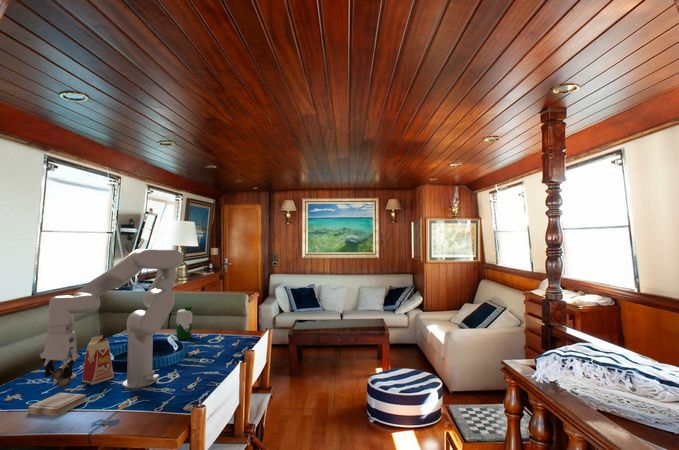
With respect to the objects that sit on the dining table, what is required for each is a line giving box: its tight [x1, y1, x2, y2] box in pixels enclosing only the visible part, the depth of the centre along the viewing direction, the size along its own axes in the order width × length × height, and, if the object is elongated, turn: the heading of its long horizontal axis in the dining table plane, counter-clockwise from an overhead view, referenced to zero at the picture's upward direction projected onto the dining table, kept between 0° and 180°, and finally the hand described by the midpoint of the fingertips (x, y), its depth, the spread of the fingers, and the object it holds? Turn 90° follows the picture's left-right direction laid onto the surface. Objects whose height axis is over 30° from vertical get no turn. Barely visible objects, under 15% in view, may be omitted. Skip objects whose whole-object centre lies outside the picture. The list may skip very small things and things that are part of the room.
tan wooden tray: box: [27, 392, 87, 417], centre depth 132 cm, size 12×12×3 cm
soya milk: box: [176, 305, 193, 340], centre depth 228 cm, size 9×9×20 cm
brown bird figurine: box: [50, 367, 72, 389], centre depth 131 cm, size 8×7×9 cm
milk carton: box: [82, 334, 115, 386], centre depth 159 cm, size 9×9×20 cm
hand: (58, 376), depth 132 cm, fingers closed on brown bird figurine, 7 cm apart
